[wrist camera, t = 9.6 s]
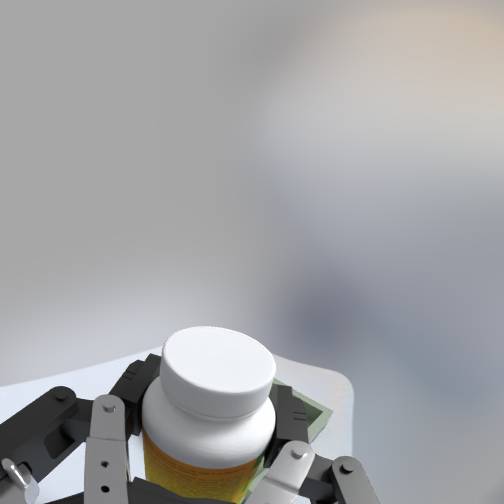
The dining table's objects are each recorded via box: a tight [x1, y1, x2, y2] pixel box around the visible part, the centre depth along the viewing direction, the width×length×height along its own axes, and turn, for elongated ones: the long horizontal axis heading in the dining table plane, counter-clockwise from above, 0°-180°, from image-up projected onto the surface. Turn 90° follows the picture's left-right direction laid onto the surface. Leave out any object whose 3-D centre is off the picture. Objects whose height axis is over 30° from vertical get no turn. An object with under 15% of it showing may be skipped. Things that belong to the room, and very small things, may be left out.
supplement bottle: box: [142, 326, 276, 504], centre depth 11 cm, size 5×5×10 cm
